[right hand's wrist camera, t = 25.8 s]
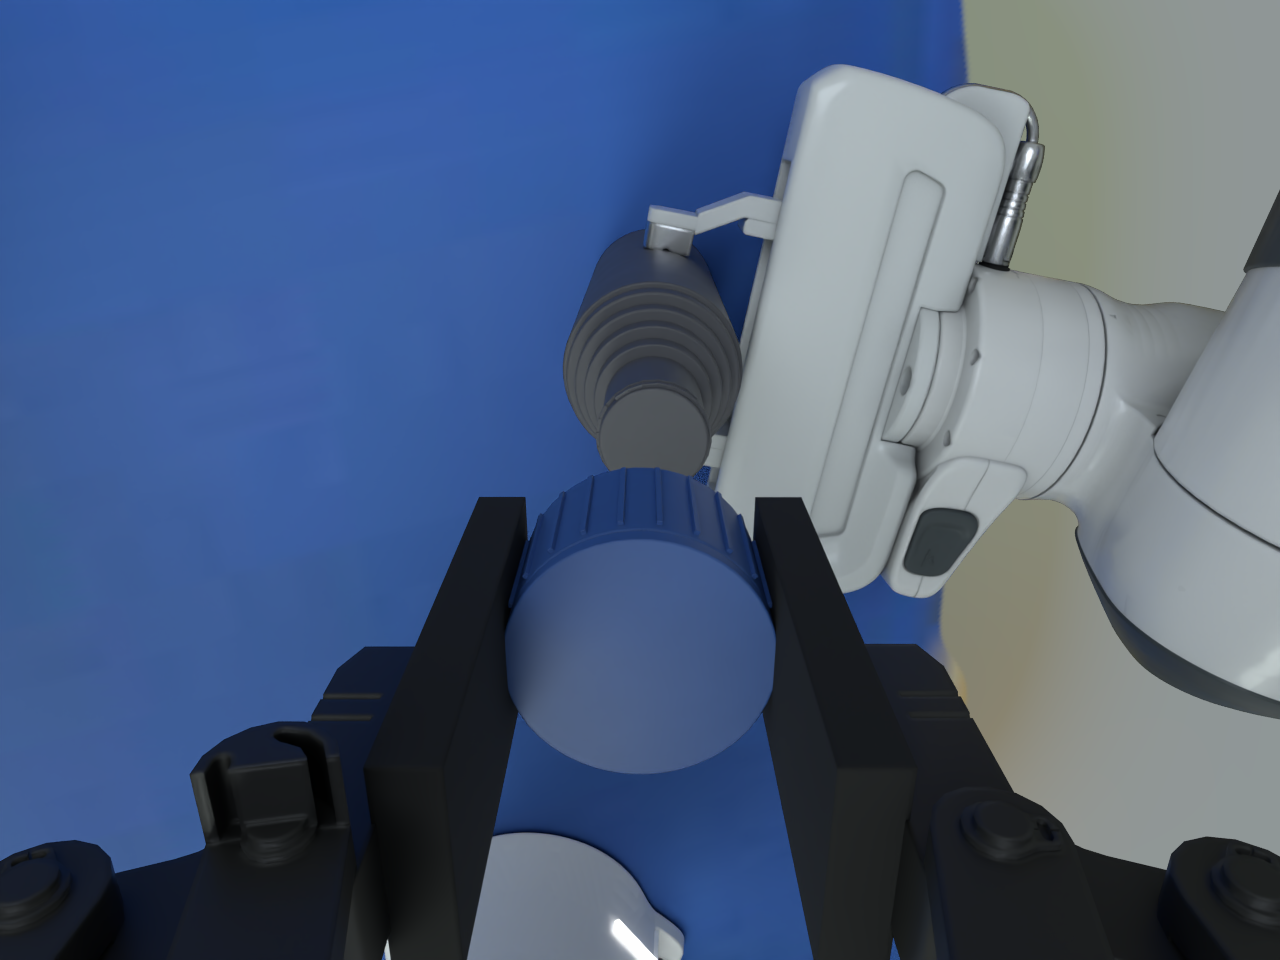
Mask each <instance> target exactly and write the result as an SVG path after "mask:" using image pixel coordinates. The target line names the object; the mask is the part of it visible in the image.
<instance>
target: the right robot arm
mask: <svg viewBox="0 0 1280 960" xmlns="http://www.w3.org/2000/svg"><path fill="white" fill-rule="evenodd" d="M526 540H528V537H527V518H526V499H525V497H479V499H478V501H477V503H476V506H475V508H474V510H473V513H472V515H471V517H470V520H469V522H468V524H467V527H466V529H465V531H464V534H463V536H462V538H461V541H460V543H459V545H458V548H457V550H456V552H455V555H454V557H453V559H452V562H451V564H450V566H449V569H448V571H447V573H446V576H445V578H444V580H443V583H442V585H441V587H440V589H439V592H438V594H437V596H436V599H435V601H434V603H433V606H432V608H431V610H430V613H429V615H428V617H427V620H426V622H425V624H424V627H423V629H422V631H421V634H420V636H419V638H418V641H417V643H416V645H415V647H364V648H363V649H362V650H360V651H359V652H358V653H357V654H355V655H354V656H353V657H352V658H350V659H349V660H348V661H346V662H345V663H344V664H343V665H341V666H340V667H339V668H338V669H337V670H336V672H335V674H334V676H333V678H332V679H331V681H330V683H329V685H328V687H327V689H326V690H325V692H324V694H323V699H320V701H319V703H318V705H317V707H316V708H315V710H314V712H313V714H312V719H311V721H308V723H307V722H274V723H270V724H265V725H261V726H256V727H252V728H249V729H247V730H244V731H242V732H240V733H238V734H235V735H233V736H231V737H229V738H227V739H224V740H223V741H222V742H220V743H219V744H218V745H216V746H215V747H214V748H212V749H211V750H210V751H208V752H207V753H206V754H204V755H203V756H202V757H201V759H200V760H199V762H198V763H197V765H196V766H195V767H194V769H193V770H192V772H191V773H190V778H191V783H192V787H193V791H194V795H195V800H196V804H197V808H198V812H199V816H200V821H201V825H202V829H203V833H204V837H205V842H206V846H205V849H203V850H201V851H199V852H196V853H193V854H190V855H187V856H183V857H180V858H177V859H173V860H169V861H165V862H161V863H157V864H153V865H148V866H144V867H140V868H136V869H132V870H127V871H123V872H119V873H115V872H114V868H113V865H112V861H111V858H110V857H109V856H108V855H107V854H106V853H105V852H104V851H103V850H102V849H101V848H100V847H99V846H98V845H95V844H91V843H86V842H82V841H77V840H71V841H61V842H51V843H45V844H42V845H39V846H36V847H33V848H30V849H27V850H24V851H21V852H17V853H14V854H12V855H11V856H9V857H7V858H5V859H3V860H2V861H0V960H382V957H383V953H384V950H385V947H386V944H387V940H388V944H389V951H390V958H391V960H467V957H468V952H469V947H470V942H471V937H472V933H473V928H474V923H475V918H476V913H477V908H478V904H479V899H480V894H481V889H482V884H483V879H484V875H485V870H486V865H487V860H488V855H489V850H490V845H491V841H492V836H493V831H494V826H495V821H496V816H497V812H498V807H499V802H500V797H501V792H502V787H503V783H504V778H505V773H506V768H507V763H508V758H509V754H510V749H511V744H512V739H513V734H514V729H515V724H516V720H517V715H518V710H517V708H516V706H515V705H514V703H513V701H512V699H511V697H510V694H509V691H508V681H507V666H506V651H505V629H506V626H507V622H508V618H509V615H510V611H511V608H509V606H508V602H509V599H510V595H511V592H512V588H513V584H514V581H515V577H516V574H517V570H518V567H519V563H520V559H521V556H522V552H523V549H524V545H525V541H526ZM754 540H755V541H756V545H757V549H758V552H759V556H760V560H761V563H762V567H763V571H764V574H765V578H766V582H767V586H768V589H769V593H770V597H771V600H772V608H770V612H771V616H772V620H773V624H774V627H775V632H776V647H775V662H774V677H773V690H772V693H771V695H770V698H769V700H768V703H767V704H766V706H765V708H764V709H763V711H762V712H763V717H764V722H765V727H766V732H767V736H768V741H769V746H770V751H771V756H772V761H773V765H774V770H775V775H776V780H777V785H778V790H779V794H780V799H781V804H782V809H783V814H784V819H785V823H786V828H787V833H788V838H789V843H790V848H791V853H792V857H793V862H794V867H795V872H796V877H797V882H798V886H799V891H800V896H801V901H802V906H803V911H804V915H805V920H806V925H807V930H808V935H809V940H810V944H811V949H812V954H813V959H814V960H890V955H891V948H892V941H893V937H894V941H895V944H896V947H897V950H898V954H899V957H900V960H1280V856H1278V855H1276V854H1274V853H1272V852H1270V851H1268V850H1266V849H1263V848H1260V847H1257V846H1254V845H1251V844H1248V843H1245V842H1242V841H1238V840H1235V839H1225V838H1215V837H1202V838H1198V839H1194V840H1189V841H1184V842H1183V843H1182V844H1181V845H1180V846H1179V847H1178V848H1177V849H1176V850H1175V851H1174V852H1173V853H1172V854H1171V857H1170V860H1169V864H1168V867H1167V870H1164V869H1159V868H1155V867H1151V866H1147V865H1143V864H1139V863H1134V862H1130V861H1126V860H1121V859H1117V858H1113V857H1109V856H1105V855H1102V854H1099V853H1096V852H1093V851H1089V850H1086V849H1083V848H1081V847H1079V846H1077V845H1075V844H1074V842H1073V840H1072V839H1071V837H1070V836H1069V834H1068V832H1067V831H1066V829H1065V827H1064V826H1063V824H1062V823H1061V822H1060V821H1059V820H1058V819H1056V818H1055V817H1054V816H1053V815H1052V814H1050V813H1049V812H1048V811H1047V810H1046V809H1045V808H1043V807H1042V806H1041V805H1039V804H1037V803H1035V802H1033V801H1031V800H1029V799H1027V798H1025V797H1023V796H1021V795H1019V794H1017V793H1014V791H1013V790H1012V788H1011V786H1010V784H1009V783H1008V781H1007V779H1006V777H1005V775H1004V774H1003V772H1002V770H1001V768H1000V766H999V765H998V763H997V761H996V759H995V757H994V756H993V754H992V752H991V750H990V748H989V747H988V745H987V743H986V741H985V739H984V738H983V736H982V734H981V732H980V731H979V729H978V727H977V725H976V723H975V722H974V720H973V718H970V715H969V714H970V713H969V711H968V709H967V707H966V705H965V704H964V702H963V700H962V698H961V697H958V691H957V689H956V687H955V686H954V684H953V682H952V680H951V678H950V677H949V675H948V673H947V671H946V670H945V668H944V666H943V665H942V664H940V663H939V662H938V661H937V660H935V659H934V658H933V657H932V656H930V655H929V654H928V653H927V652H925V651H924V650H923V649H921V648H920V647H919V646H918V645H916V644H864V642H863V639H862V637H861V635H860V632H859V630H858V628H857V625H856V623H855V621H854V618H853V616H852V614H851V611H850V609H849V607H848V604H847V602H846V600H845V597H844V595H843V593H842V590H841V588H840V586H839V583H838V581H837V579H836V576H835V574H834V572H833V569H832V567H831V565H830V562H829V560H828V558H827V555H826V553H825V551H824V549H823V546H822V544H821V542H820V539H819V537H818V535H817V532H816V530H815V528H814V525H813V523H812V521H811V518H810V516H809V514H808V511H807V509H806V507H805V504H804V502H803V500H802V497H755V510H754V529H753V541H754Z"/></svg>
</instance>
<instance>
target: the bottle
mask: <svg viewBox="0 0 1280 960" xmlns="http://www.w3.org/2000/svg"><path fill="white" fill-rule="evenodd" d="M644 235H645V229H644V230H638V231H635V232H631V233H629V234H627V235H624V236H623V237H621V238H619V239H618V240H616V241H615V242H614V243H613V244H611V245H610V246H609V247H608V249H607V250H606V251H605V252H604V253H603V255H602V256H601V258H600V259H599V261H598V263H597V265H596V268H595V270H594V273H593V276H592V278H591V281H590V284H589V286H588V289H587V291H586V294H585V297H584V299H583V302H582V305H581V307H580V310H579V312H578V315H577V318H576V320H575V323H574V326H573V328H572V331H571V334H570V336H569V339H568V341H567V344H566V349H565V353H564V360H563V379H564V384H565V390H566V393H567V396H568V399H569V401H570V404H571V406H572V408H573V410H574V412H575V414H576V416H577V418H578V419H579V421H580V422H581V424H582V425H583V426H584V428H585V429H586V430H587V431H588V432H589V433H590V434H591V435H592V436H593V437H594V438H595V439H596V442H597V449H598V451H599V454H600V457H601V459H602V462H603V463H604V464H605V466H606V467H607V468H608V470H609V471H613V470H618V469H621V468H623V467H626V468H655V467H658V468H660V469H663V470H668V471H672V472H676V473H679V474H683V475H685V476H688V475H689V476H692V477H694V475H695V474H696V473H697V472H698V471H699V470H700V469H701V468H702V467H703V465H704V463H705V461H706V459H707V457H708V456H709V452H710V448H711V443H712V437H713V436H714V435H715V434H716V433H717V432H718V431H719V429H720V428H721V427H722V426H723V425H724V423H725V422H726V420H727V418H728V417H729V415H730V413H731V411H732V409H733V407H734V405H735V402H736V400H737V397H738V394H739V391H740V387H741V382H742V371H743V364H742V354H741V350H740V346H739V342H738V339H737V337H736V334H735V332H734V329H733V327H732V324H731V322H730V320H729V317H728V315H727V312H726V310H725V307H724V305H723V303H722V300H721V298H720V295H719V293H718V291H717V288H716V286H715V283H714V281H713V278H712V276H711V274H710V271H709V269H708V266H707V264H706V262H705V260H704V258H703V257H702V255H701V254H700V253H699V251H698V250H697V249H696V248H695V247H694V246H693V245H692V246H691V250H690V255H689V256H684V255H679V254H676V253H672V252H670V251H669V250H668V248H665V249H663V250H653V249H649V248H645V247H643V241H644Z"/></svg>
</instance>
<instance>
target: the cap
mask: <svg viewBox="0 0 1280 960" xmlns="http://www.w3.org/2000/svg"><path fill="white" fill-rule="evenodd" d="M508 606H509V608H511V611H510V615H509V618H508V622H507V626H506V629H505V651H506V666H507V681H508V691H509V694H510V697H511V699H512V701H513V703H514V705H515V706H516V708H517V710H518V712H519V713H520V715H521V716H522V718H523V719H524V720H525V722H526V723H527V724H528V726H529V727H530V728H531V729H532V730H533V731H534V732H535V733H536V734H537V735H538V736H539V737H540V738H541V739H543V740H544V741H545V742H546V743H547V744H549V745H550V746H551V747H553V748H554V749H556V750H557V751H559V752H561V753H562V754H564V755H565V756H568V757H570V758H572V759H574V760H576V761H578V762H580V763H583V764H586V765H589V766H591V767H594V768H598V769H602V770H606V771H611V772H617V773H625V774H655V773H665V772H670V771H675V770H680V769H683V768H686V767H689V766H693V765H696V764H698V763H700V762H703V761H705V760H707V759H710V758H712V757H713V756H715V755H717V754H719V753H720V752H722V751H724V750H725V749H727V748H728V747H729V746H731V745H732V744H733V743H735V742H736V741H737V740H739V739H740V738H741V737H742V736H743V735H744V734H745V733H746V732H747V731H748V730H749V729H750V728H751V726H752V725H753V724H754V723H755V721H756V720H757V719H758V717H759V716H760V714H761V713H762V711H763V709H764V708H765V706H766V704H767V703H768V700H769V698H770V695H771V693H772V690H773V677H774V662H775V647H776V632H775V627H774V624H773V620H772V616H771V612H770V608H772V600H771V597H770V593H769V589H768V586H767V582H766V578H765V574H764V571H763V567H762V563H761V560H760V556H759V552H758V549H757V545H756V541H755V540H754V541H751V538H750V535H749V533H748V530H747V529H746V527H745V523H744V519H743V516H742V515H741V514H739V515H738V514H737V513H736V512H735V510H734V509H733V508H732V506H731V505H730V504H728V503H727V502H726V501H725V500H724V499H723V498H722V495H721V493H720V492H718V491H717V492H715V491H713V490H712V489H711V488H709V487H708V486H706V485H704V484H702V483H701V482H699V481H697V480H695V479H693V477H692V476H689V475H688V476H685V475H683V474H679V473H676V472H672V471H668V470H663V469H660V468H658V467H655V468H626V467H623V468H621V469H618V470H613V471H609V472H605V473H602V474H599V475H596V476H593V475H592V476H589V477H588V479H586V480H584V481H582V482H581V483H579V484H577V485H575V486H573V487H572V488H571V489H569V490H568V491H566V492H564V491H563V492H562V493H560V495H559V498H558V499H557V500H556V501H555V502H553V503H552V504H551V506H550V507H549V508H548V509H547V510H546V512H545V513H544V514H540V515H539V516H538V519H537V523H536V527H535V529H534V531H533V534H532V536H531V538H530V541H528V540H526V541H525V545H524V549H523V552H522V556H521V559H520V563H519V567H518V570H517V574H516V577H515V581H514V584H513V588H512V592H511V595H510V599H509V602H508Z"/></svg>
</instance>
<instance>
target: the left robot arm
mask: <svg viewBox="0 0 1280 960" xmlns="http://www.w3.org/2000/svg"><path fill="white" fill-rule="evenodd" d="M1025 124H1026V129H1027V139H1026V141H1020V140H1021V137H1022V134H1023V131H1024V128H1025ZM1038 138H1039V126H1038V120H1037V117H1036V114H1035V112H1034V110H1033V108H1032V106H1031V105H1030V104H1029V102H1028V101H1027V100H1026V99H1025V98H1023V97H1022V96H1021V95H1019V94H1017V93H1015V92H1013V91H1010V90H1005V89H1000V88H995V87H991V86H986V85H981V84H976V83H966V84H960V85H957V86H954V87H951V88H949V89H947V90H945V91H944V92H942V93H941V94H940V93H937V92H935V91H932V90H930V89H927V88H925V87H922V86H919V85H916V84H914V83H911V82H908V81H905V80H902V79H899V78H896V77H893V76H889V75H886V74H883V73H879V72H875V71H872V70H868V69H865V68H860V67H856V66H851V65H845V64H835V65H830V66H827V67H825V68H823V69H822V70H820V71H818V72H817V73H815V74H814V75H812V76H811V77H809V78H808V79H807V80H805V81H804V82H803V83H802V84H801V85H800V87H799V89H798V91H797V95H796V99H795V103H794V107H793V112H792V116H791V120H790V125H789V129H788V133H787V138H786V142H785V147H784V151H783V155H782V160H781V164H780V168H779V173H778V177H777V181H776V186H775V190H774V194H773V197H770V196H765V195H760V194H754V193H749V192H742V193H739V194H736V195H733V196H731V197H728V198H725V199H723V200H720V201H717V202H715V203H712V204H709V205H706V206H704V207H701V208H698V209H696V212H690V211H685V210H679V209H674V208H669V207H664V206H657V205H650V206H649V212H648V218H647V223H646V229H645V235H644V241H643V247H645V248H649V249H653V250H663V249H665V248H668V250H669V251H670V252H672V253H676V254H679V255H684V256H689V255H690V250H691V246H692V241H693V237H694V234H695V235H697V234H700V233H702V232H705V231H708V230H711V229H714V228H717V227H720V226H722V225H725V224H728V223H731V222H734V221H737V220H739V221H738V226H739V228H740V229H741V230H742V232H743V233H744V234H745V235H750V236H754V237H759V238H763V242H762V247H761V251H760V255H759V260H758V264H757V268H756V273H755V277H754V282H753V286H752V290H751V295H750V299H749V303H748V308H747V312H746V316H745V321H744V325H743V329H742V334H741V338H740V342H739V346H740V350H741V354H742V364H743V371H742V382H741V387H740V391H739V394H738V397H737V400H736V402H735V405H734V407H733V409H732V411H731V413H730V415H729V417H728V418H727V420H726V422H725V423H724V425H723V426H722V427H721V428H720V429H719V431H718V432H717V433H716V434H715V435H714V436H713V437H712V443H711V448H710V452H709V456H708V457H707V459H706V461H705V463H704V465H705V466H710V467H711V469H710V473H709V477H708V482H707V486H708V487H709V488H711V489H712V490H713V491H715V492H717V491H718V492H720V493H721V495H722V498H723V499H724V500H725V501H726V502H727V503H728V504H730V505H731V506H732V508H733V509H734V510H735V512H736V513H737V514H738V515H739V514H741V515H742V516H743V519H744V523H745V527H746V529H747V530H748V533H749V535H750V538H751V541H753V529H754V510H755V497H802V500H803V502H804V504H805V507H806V509H807V511H808V514H809V516H810V518H811V521H812V523H813V525H814V528H815V530H816V532H817V535H818V537H819V539H820V542H821V544H822V546H823V549H824V551H825V553H826V555H827V558H828V560H829V562H830V565H831V567H832V569H833V572H834V574H835V576H836V579H837V581H838V583H839V586H840V588H841V590H842V593H848V592H852V591H856V590H858V589H861V588H863V587H865V586H867V585H868V584H870V583H871V582H872V581H873V580H875V579H876V578H877V577H878V576H879V574H881V576H882V577H883V579H884V580H885V581H886V582H887V584H888V585H889V586H890V587H891V589H892V590H893V591H895V592H896V593H899V594H901V595H905V596H909V597H914V598H926V597H930V596H932V595H934V594H935V593H936V592H938V591H939V590H940V589H941V588H942V587H943V585H944V584H945V583H946V582H947V580H948V579H949V578H950V576H951V575H952V574H953V572H954V571H955V570H956V568H957V567H958V566H959V564H960V563H961V562H962V560H963V559H964V558H965V556H966V555H967V554H968V553H969V551H970V550H971V549H972V547H973V546H974V545H975V544H976V542H977V541H978V540H979V539H980V537H981V536H982V535H983V534H984V532H985V531H986V530H987V529H988V528H989V526H990V525H991V524H992V523H993V522H994V521H995V520H996V518H997V517H998V516H999V515H1000V514H1001V513H1002V512H1003V511H1004V510H1005V509H1006V508H1007V507H1008V505H1009V504H1010V503H1011V502H1012V501H1013V500H1014V499H1019V500H1038V499H1044V500H1053V501H1057V502H1059V503H1062V504H1064V505H1065V506H1067V507H1068V508H1070V509H1071V510H1072V511H1073V512H1074V513H1075V515H1076V517H1077V519H1078V524H1079V525H1078V526H1077V527H1076V529H1075V537H1076V541H1077V544H1078V547H1079V550H1080V553H1081V556H1082V559H1083V562H1084V564H1085V566H1086V569H1087V571H1088V574H1089V576H1090V579H1091V581H1092V583H1093V586H1094V588H1095V590H1096V592H1097V595H1098V597H1099V599H1100V601H1101V604H1102V606H1103V608H1104V610H1105V612H1106V614H1107V616H1108V619H1109V620H1110V623H1111V625H1112V627H1113V628H1114V630H1115V632H1116V634H1117V635H1118V637H1119V638H1120V640H1121V641H1122V643H1123V644H1124V645H1125V647H1126V648H1127V649H1128V651H1129V652H1130V653H1131V654H1132V656H1133V657H1134V658H1135V659H1136V660H1137V661H1138V662H1139V663H1140V664H1141V665H1142V666H1143V667H1144V668H1145V669H1146V670H1148V671H1149V672H1150V673H1152V674H1153V675H1155V676H1156V677H1158V678H1159V679H1161V680H1163V681H1164V682H1166V683H1168V684H1170V685H1171V686H1173V687H1175V688H1177V689H1179V690H1181V691H1183V692H1186V693H1188V694H1190V695H1193V696H1195V697H1198V698H1200V699H1203V700H1206V701H1209V702H1211V703H1214V704H1218V705H1221V706H1224V707H1228V708H1232V709H1235V710H1239V711H1243V712H1247V713H1252V714H1256V715H1261V716H1265V717H1271V718H1276V719H1280V191H1279V193H1278V195H1277V197H1276V199H1275V202H1274V204H1273V206H1272V208H1271V210H1270V212H1269V215H1268V217H1267V219H1266V221H1265V223H1264V226H1263V228H1262V230H1261V232H1260V234H1259V236H1258V239H1257V241H1256V243H1255V245H1254V247H1253V249H1252V252H1251V254H1250V256H1249V258H1248V260H1247V263H1246V265H1245V267H1244V272H1245V273H1246V276H1245V277H1244V279H1243V281H1242V283H1241V285H1240V286H1239V288H1238V290H1237V292H1236V294H1235V295H1234V297H1233V299H1232V301H1231V302H1230V304H1229V306H1228V308H1227V310H1226V311H1225V312H1224V311H1219V310H1214V309H1210V308H1205V307H1200V306H1195V305H1190V304H1184V303H1173V302H1165V303H1156V304H1146V305H1139V304H1129V303H1125V302H1122V301H1119V300H1116V299H1114V298H1112V297H1110V296H1109V295H1107V294H1105V293H1104V292H1102V291H1100V290H1098V289H1096V288H1093V287H1091V286H1088V285H1085V284H1081V283H1075V282H1070V281H1065V280H1060V279H1054V278H1049V277H1044V276H1039V275H1034V274H1029V273H1024V272H1019V271H1014V270H1010V269H1009V268H1008V267H1009V263H1010V260H1011V258H1012V255H1013V251H1014V248H1015V245H1016V242H1017V239H1018V236H1019V233H1020V229H1021V226H1022V222H1023V219H1022V218H1023V217H1024V210H1025V208H1026V204H1025V203H1026V202H1027V200H1028V195H1029V194H1030V191H1031V188H1032V185H1033V183H1035V182H1036V180H1037V178H1038V175H1039V173H1040V170H1041V167H1042V163H1043V159H1044V151H1045V146H1044V145H1042V144H1038ZM976 261H978V262H979V264H976ZM981 261H982V262H981ZM683 949H684V936H683V934H682V932H681V931H680V930H679V929H678V928H677V927H676V926H675V925H674V924H672V923H671V922H670V921H669V920H667V919H666V918H664V917H663V916H662V915H660V914H659V913H657V912H656V911H655V910H654V909H653V908H652V907H651V905H650V904H649V902H648V901H647V899H646V897H645V895H644V894H643V892H642V890H641V888H640V887H639V885H638V884H637V882H636V881H635V880H634V878H633V877H632V876H631V875H630V874H629V873H628V871H627V870H626V869H624V868H623V867H622V866H621V865H620V864H619V863H618V862H616V861H615V860H614V859H612V858H611V857H609V856H608V855H606V854H605V853H603V852H601V851H600V850H598V849H596V848H594V847H591V846H589V845H587V844H585V843H582V842H579V841H576V840H573V839H570V838H566V837H562V836H557V835H551V834H543V833H511V834H503V835H497V836H493V837H492V841H491V845H490V850H489V855H488V860H487V865H486V870H485V875H484V879H483V884H482V889H481V894H480V899H479V904H478V908H477V913H476V918H475V923H474V928H473V933H472V937H471V942H470V947H469V952H468V957H467V960H681V958H682V955H683ZM384 951H385V957H386V960H391V958H390V951H389V944H388V940H387V944H386V947H385V950H384Z"/></svg>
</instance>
